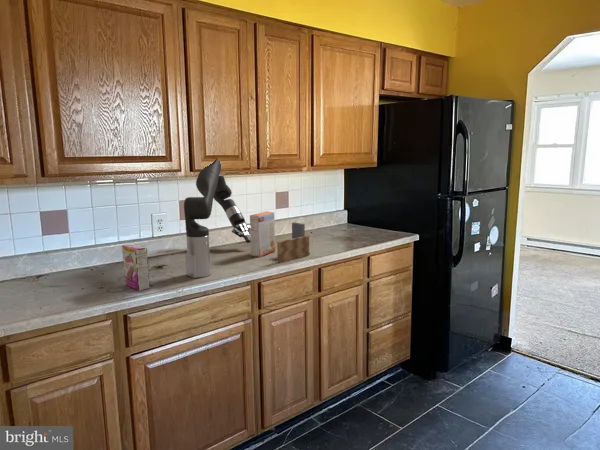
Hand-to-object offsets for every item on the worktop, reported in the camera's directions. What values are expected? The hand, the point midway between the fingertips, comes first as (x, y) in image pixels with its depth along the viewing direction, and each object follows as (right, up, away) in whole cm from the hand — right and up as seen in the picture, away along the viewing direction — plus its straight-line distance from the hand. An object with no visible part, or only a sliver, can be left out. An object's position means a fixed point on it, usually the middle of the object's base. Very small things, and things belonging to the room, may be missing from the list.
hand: (249, 241), depth 226 cm
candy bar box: (-37, -15, -59) cm, 71 cm away
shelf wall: (+24, -8, -17) cm, 30 cm away
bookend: (+27, -6, -7) cm, 29 cm away
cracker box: (+8, -6, -7) cm, 12 cm away
